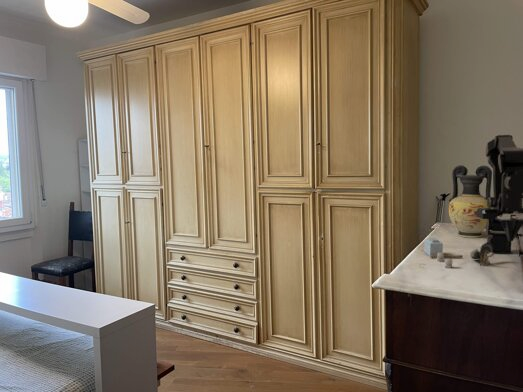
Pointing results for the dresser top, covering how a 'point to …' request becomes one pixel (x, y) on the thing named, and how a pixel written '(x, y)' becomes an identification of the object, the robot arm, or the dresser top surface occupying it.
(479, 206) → the amphora
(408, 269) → the dresser top surface
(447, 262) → the pin seat fixture
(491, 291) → the dresser top surface
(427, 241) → the block
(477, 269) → the dresser top surface
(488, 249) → the eagle figurine
